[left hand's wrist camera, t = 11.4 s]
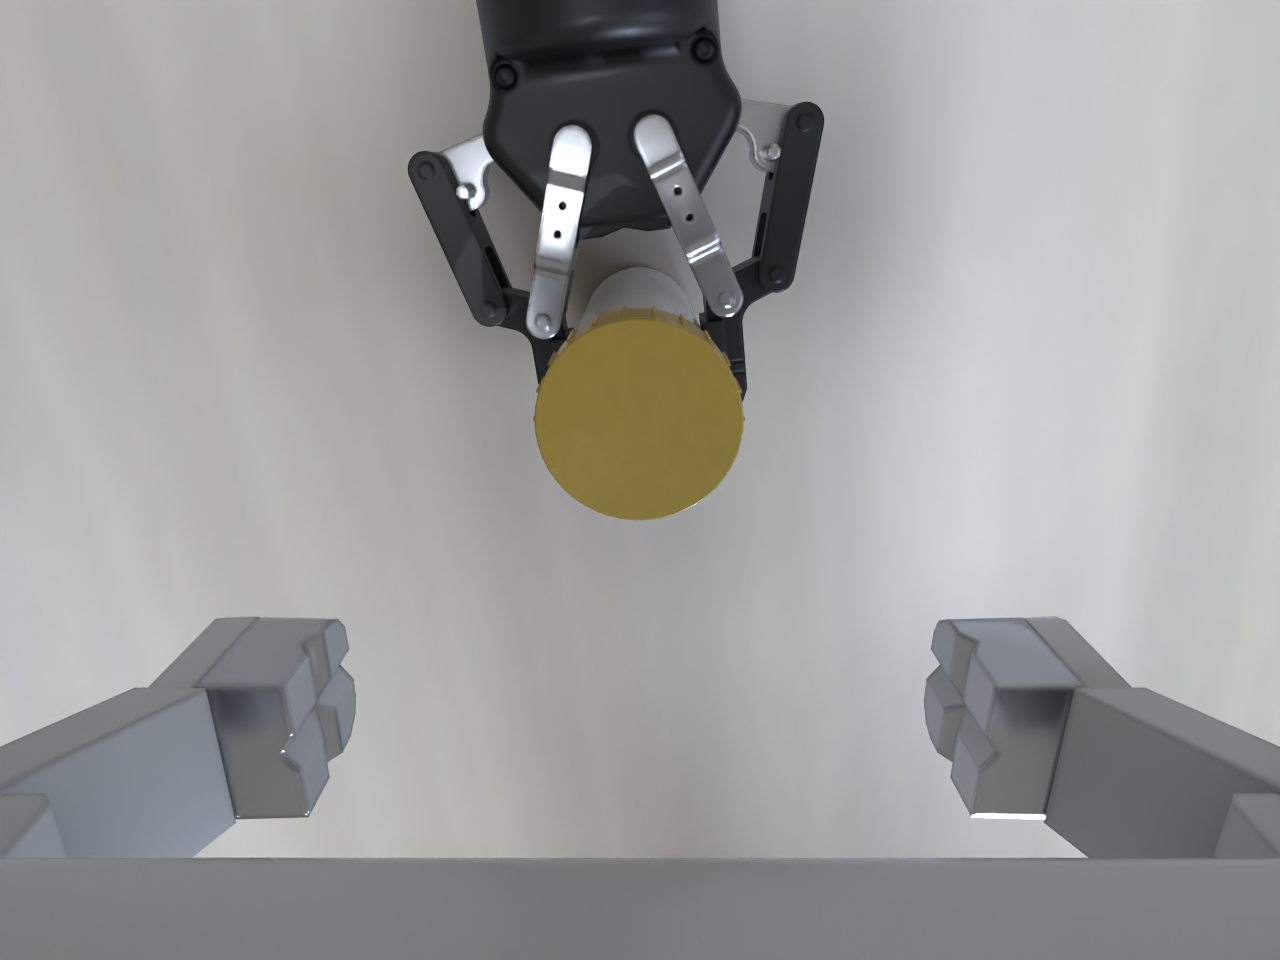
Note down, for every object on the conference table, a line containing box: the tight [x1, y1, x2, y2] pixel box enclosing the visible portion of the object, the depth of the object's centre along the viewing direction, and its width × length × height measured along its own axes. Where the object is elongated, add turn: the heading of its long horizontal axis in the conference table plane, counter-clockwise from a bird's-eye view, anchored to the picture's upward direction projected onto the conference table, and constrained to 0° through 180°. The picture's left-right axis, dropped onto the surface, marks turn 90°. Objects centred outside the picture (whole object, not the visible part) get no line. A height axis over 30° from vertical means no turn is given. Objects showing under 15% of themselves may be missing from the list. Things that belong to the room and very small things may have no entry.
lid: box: [534, 306, 745, 520], centre depth 21 cm, size 6×6×2 cm
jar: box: [577, 267, 700, 330], centre depth 28 cm, size 5×5×16 cm
